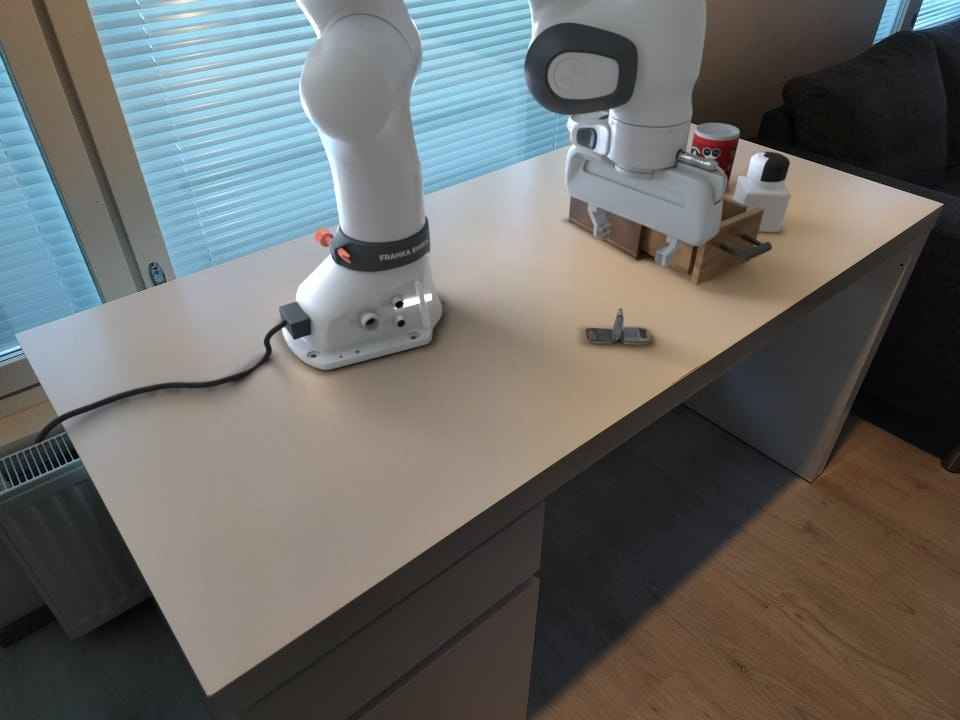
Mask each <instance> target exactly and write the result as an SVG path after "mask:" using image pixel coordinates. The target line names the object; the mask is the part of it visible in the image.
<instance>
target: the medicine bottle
mask: <svg viewBox="0 0 960 720" xmlns="http://www.w3.org/2000/svg"><path fill="white" fill-rule="evenodd" d="M749 161H750V162H749V165H748V169H747V174H746V175H739V176H738V177H737V181H736V185H735V188H734V194H733V196H732V197H733V198H732V200H735V201H737V202H739V203H741V204H744V205H746V206H747V209H746V211H749V210H751V209H754V208H756V207H759V208H762V209H764V213H763V216H762V220H761V224H760V227H759V231H758V233H780V232H781V229H782V226H783V223H784V220H785V217H786V212H787V209H788V205H789V202H790V198H791V192H790V190H789V189H788V188H787V186H786V184H785V183H786V178H787V175H788V172H789V168H790V165H791V161H790V160H789V158H788V157H787V156H786V155H783V154H782V153H779V152H774V151H761V152H757V153H754V154H753V155H752V156H751V157H750V160H749Z"/></svg>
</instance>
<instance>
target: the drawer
mask: <svg viewBox="0 0 960 720" xmlns="http://www.w3.org/2000/svg"><path fill="white" fill-rule="evenodd" d="M746 209H747V206H746V205H744V204H741V203H739V202H737V201H735V200H733V198H730V197H729V196H726V195H724V197H723V207H722V217H721V224H720V229H719V232H718V234H717V235H716V236H714V237H713V238H712V239H710V240H709V241H707V242H705V243H703V244H701V245H699V246H694V245H691V244H689V243H686V242H684V243H683V244H682V245H681V246H680V247H679V248H678V249H677V250H676V251H675V255H674V260H673V263H672V264H671V265H669V267H672V268H673V269H674V270H675V269H676V270H677V271H679V272H680V273H682V274H684V275H686V276H689V275H691V274H692V275H691V279H690V284H691V283H692V284H694V285H695V286H699V285H700V284H703V283H705V282H707V281H710V280H712V279H714V278H717V277H719V276H721V275H724V274H726V273H727V272H729V271H732V270H734V269H737V268H739V267H741V266H743V265H745V264H748V263H749V262H751V260H753V259H755V258H757V257H759V256H761V255H764V254H765V253H769V252H771V250H773V244H772V243H771V242H770V241H765V242H762V241H760V240H758V239H757V238H758V235H759V232H758V231H759V227H760V224H761V220H762V216H763V213H764V209H762V208H759V207H756V208H754V209H751V210H749V211H746ZM666 239H667V235H666V234H664V233H661V232H659V231H656V230H654V229H651V228H649V227H646V226H644V232H643V239H642V245H641V250H643V251H645V252H646V253H648V254H649V255H650V256H651V257H653V258H655V259H656V251H658V250H659V249H662V248H663V247H665V246H666V247H668V246H669V245H670V243H667V242H666Z"/></svg>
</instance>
